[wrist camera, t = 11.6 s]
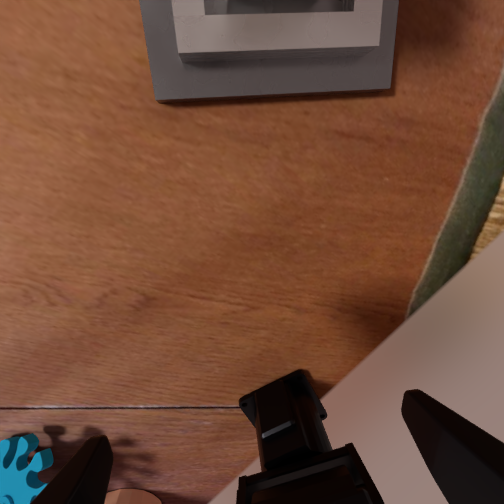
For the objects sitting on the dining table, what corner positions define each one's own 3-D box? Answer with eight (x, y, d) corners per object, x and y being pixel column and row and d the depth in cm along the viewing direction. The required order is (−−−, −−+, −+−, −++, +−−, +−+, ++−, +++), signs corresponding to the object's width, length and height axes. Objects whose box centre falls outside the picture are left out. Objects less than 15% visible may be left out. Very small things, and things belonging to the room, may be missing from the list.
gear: (37, 420, 21) (45, 592, 17) (103, 402, 27) (121, 531, 22) (-49, 464, 24) (-60, 624, 20) (26, 440, 29) (31, 562, 25)
